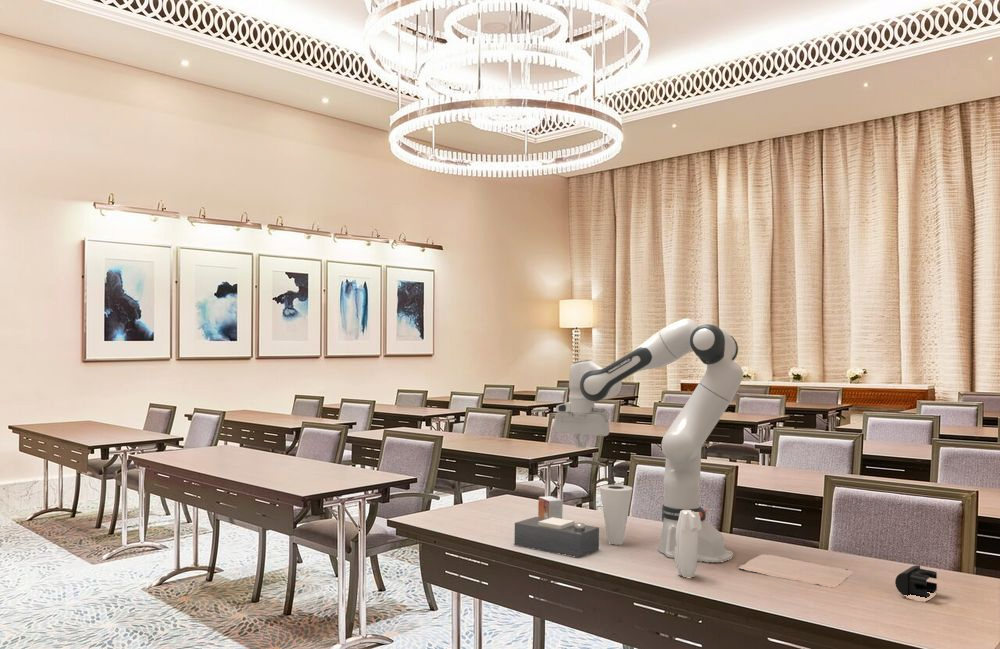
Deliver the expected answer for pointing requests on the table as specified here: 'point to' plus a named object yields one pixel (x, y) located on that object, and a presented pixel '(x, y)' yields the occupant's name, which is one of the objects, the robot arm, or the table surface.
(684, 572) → the white spray bottle
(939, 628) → the table surface
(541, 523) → the push button
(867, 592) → the table surface
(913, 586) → the end cap
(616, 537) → the cup
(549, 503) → the small box
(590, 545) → the console
